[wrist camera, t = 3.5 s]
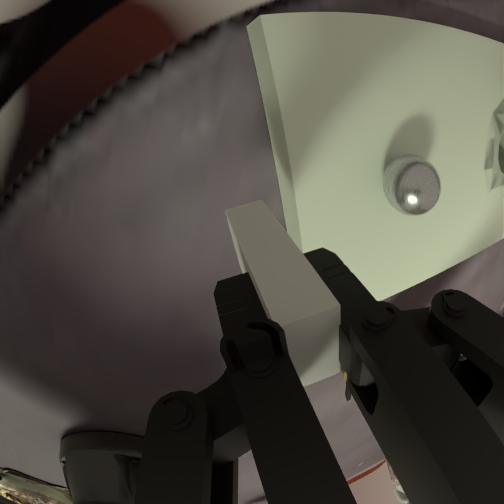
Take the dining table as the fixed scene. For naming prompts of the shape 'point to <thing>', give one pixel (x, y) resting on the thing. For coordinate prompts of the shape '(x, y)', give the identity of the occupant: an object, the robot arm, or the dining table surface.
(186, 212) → the dining table surface
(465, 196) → the board
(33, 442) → the dining table surface
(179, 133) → the dining table surface
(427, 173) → the steel ball
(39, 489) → the pie
